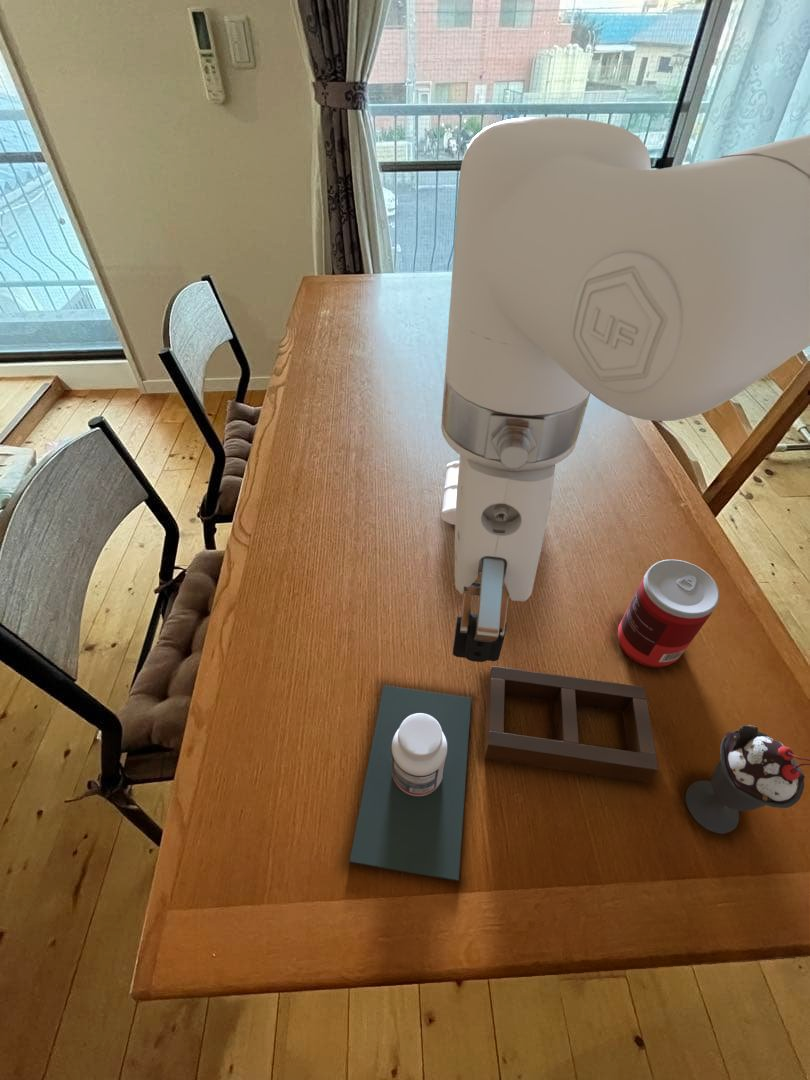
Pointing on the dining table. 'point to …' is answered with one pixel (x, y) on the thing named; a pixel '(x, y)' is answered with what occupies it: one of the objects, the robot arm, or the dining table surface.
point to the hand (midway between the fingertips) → (478, 600)
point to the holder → (571, 725)
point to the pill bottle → (418, 755)
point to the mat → (414, 821)
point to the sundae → (746, 780)
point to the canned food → (667, 612)
